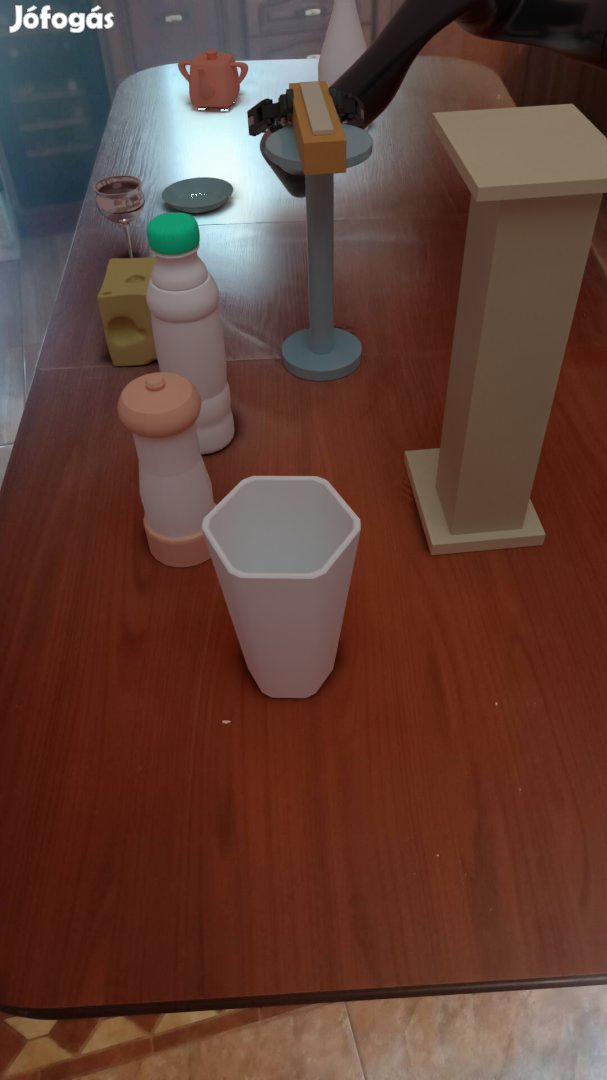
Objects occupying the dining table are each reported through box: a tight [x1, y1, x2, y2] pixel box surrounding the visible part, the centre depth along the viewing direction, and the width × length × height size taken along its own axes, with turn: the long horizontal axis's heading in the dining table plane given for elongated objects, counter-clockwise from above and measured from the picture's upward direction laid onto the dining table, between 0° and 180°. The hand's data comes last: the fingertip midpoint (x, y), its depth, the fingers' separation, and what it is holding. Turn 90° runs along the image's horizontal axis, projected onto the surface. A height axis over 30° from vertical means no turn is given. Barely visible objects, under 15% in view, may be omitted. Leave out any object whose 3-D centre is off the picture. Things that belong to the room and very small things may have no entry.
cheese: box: [96, 256, 158, 367], centre depth 100 cm, size 10×11×10 cm
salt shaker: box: [116, 371, 217, 568], centre depth 72 cm, size 7×7×19 cm
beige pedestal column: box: [403, 103, 607, 556], centre depth 69 cm, size 14×11×35 cm
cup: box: [201, 475, 362, 699], centre depth 62 cm, size 11×10×17 cm
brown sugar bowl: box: [177, 49, 249, 110], centre depth 163 cm, size 14×12×10 cm
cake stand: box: [266, 123, 374, 382], centre depth 91 cm, size 11×11×26 cm
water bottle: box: [146, 211, 235, 456], centre depth 81 cm, size 7×7×25 cm
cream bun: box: [288, 80, 347, 175], centre depth 81 cm, size 17×4×4 cm, turn 5°
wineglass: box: [92, 174, 146, 258], centre depth 115 cm, size 7×7×12 cm
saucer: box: [161, 176, 234, 214], centre depth 132 cm, size 12×12×2 cm
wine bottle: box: [317, 0, 369, 132], centre depth 143 cm, size 10×10×30 cm
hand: (312, 98), depth 82 cm, fingers closed on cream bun, 4 cm apart
